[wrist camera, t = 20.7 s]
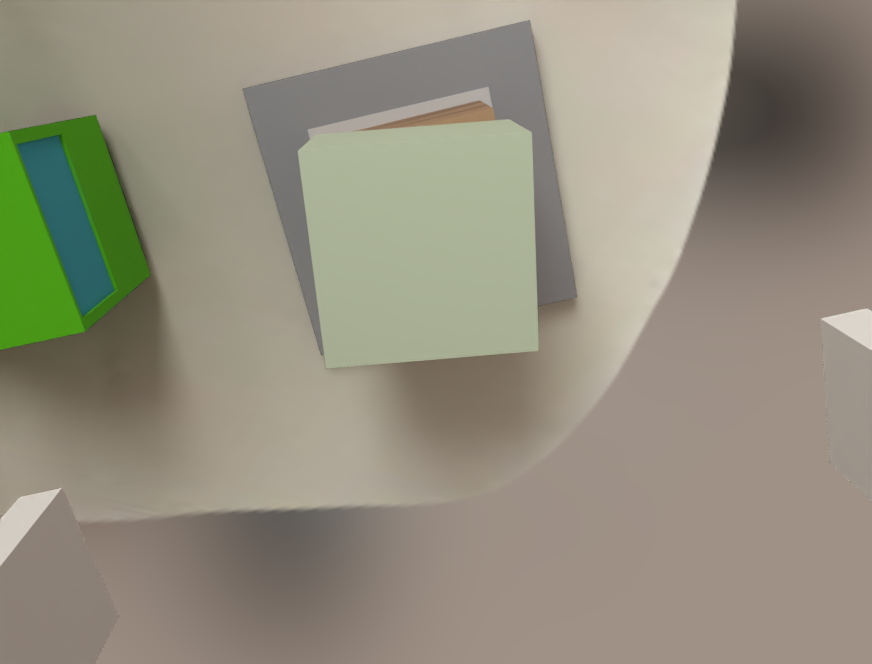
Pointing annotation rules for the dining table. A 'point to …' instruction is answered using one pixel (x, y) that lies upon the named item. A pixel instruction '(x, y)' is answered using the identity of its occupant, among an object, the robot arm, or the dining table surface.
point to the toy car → (62, 232)
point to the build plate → (402, 98)
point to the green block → (422, 241)
